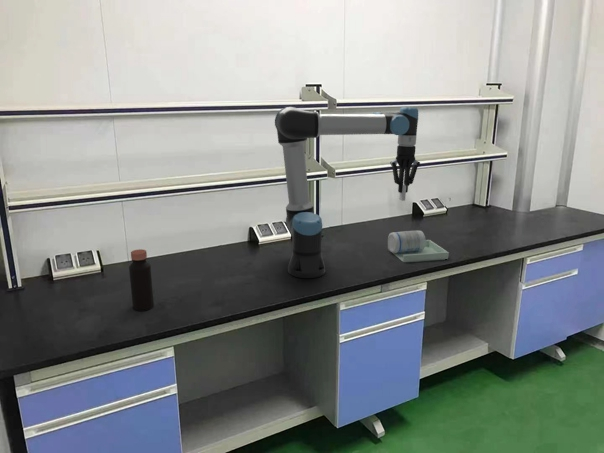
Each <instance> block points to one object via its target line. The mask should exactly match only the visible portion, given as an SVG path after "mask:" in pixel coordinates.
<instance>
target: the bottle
mask: <svg viewBox="0 0 604 453" xmlns="http://www.w3.org/2000/svg"><path fill="white" fill-rule="evenodd" d="M130 258H131V262H132V263H131V264H130V265H129V268H128V270H129V279H130V280H129V281H130V290H131V301H132V309H133V310H135V311H136V312H145V311H146V312H147V311H149V310H151V309H152V308H154V305H155V304H154V303H155V302H154V292H153V278H152V268H151V264H150V263H149V262H148V261H147V259H148V256H147V250H145V249H140V248H139V249H135V250H131V251H130Z"/></svg>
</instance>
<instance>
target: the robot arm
mask: <svg viewBox="0 0 604 453" xmlns="http://www.w3.org/2000/svg"><path fill="white" fill-rule="evenodd" d="M418 123H419V109H418V108H417V107H411V106H410V107H407V106H406V107H405V106H404V107H403V106H402V107H400V109H399V111H397V112H396V111H394V112H391V111H386V112H385V111H379V112H378V111H377V112H375V111H374V112H373V113H372V114H363V113H362V114H360V113H359V114H357V113H356V114H320V113H319V112H318V111H310V110H309V111H308V110H303V109H300V108H298V107H295V106H286V107H283V108H281V109H280V110H279V111H278V112H277V113H276V115H275V119H274V126H275V129H276V133H277V140H278V144H279V145H280V146H282V153H283V161H284V162H283V163H284V169H285V171H284V172H285V179H286V188H287V197H288V204H287V205H286V206H285V211H286V212H285V213H286V218H285V224H286V227H287V229H288V230H289V232H290V234H291V236H292V237H291V238H292V244H291V245H292V254H291V257H290V259H289V262H288V265H287V272H288V274H289V275H291V276H292V277H296V278H298V279H299V278H301V279H314V278H319V277H321V276H323V275H325V272H326V266H325V262H324V258H323V256H322V238H323V237H322V236H323V221H322V217H321V216H320V215H319V214H317V213H315V211H314V208H315V207H314V203H312V202H311V201H310V195H309V194H310V193H309V186H308V185H309V184H308V175H307V164H306V156H305V155H306V154H305V153H306V152H305V143H306V142H307V140H308V139H316V138H318V137H319V136H338V135H339V136H342V135H346V136H348V135H349V136H350V135H353V136H354V135H394V136H397V147H396V157H395V159H394V160H392V161H390V163H389V164H390V166H391V169H392V174H393V182H394V184H396V185H397V186H398V187H397V189H398V193H399V196H398V197H399V200H400V201H401V202H402V201H403V202H405V201H406V196H407V195H406V193H408V192H409V186H410V185H412V184H413V183H414V180H415V177H416V174H417V170H418V168H419V165H420V164H421V162H420V161H418V160H417V159H416V146H415V145H416V144H417V132H418ZM397 165H398V166H397ZM398 170H399V171H398Z"/></svg>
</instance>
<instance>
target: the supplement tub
mask: <svg viewBox="0 0 604 453" xmlns="http://www.w3.org/2000/svg"><path fill="white" fill-rule="evenodd" d="M426 240H427V239H426V236H425V233H424V232H423V231H422V230H405V231H397V232H396V231H395V232H394V231H393V232H390V233H389V234H388V237H387V248H388V247H389V250H388V251H389V252H390V253H392V254H393V253H404V252H416V251H422V250H424V248H425V245H426Z"/></svg>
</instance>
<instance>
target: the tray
mask: <svg viewBox="0 0 604 453" xmlns="http://www.w3.org/2000/svg"><path fill="white" fill-rule="evenodd" d="M387 250H388V251H390V250H389V247H388V246H387ZM392 254H393V255H394V257H395V256H396V258H398V259H399V260H400V261H402V262H403V263H404V264H405V263H415V262H430V261H431V262H432V261H444V260H445V259H447V260H449V256H450V252H449V251H447V250H446V249H444V248H443V247H442V246H440V245H438V244H437V243H436V242H434V241H432V240H431V239H426V245H425V248H424V250H422V251H416V252H404V253H392Z"/></svg>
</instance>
